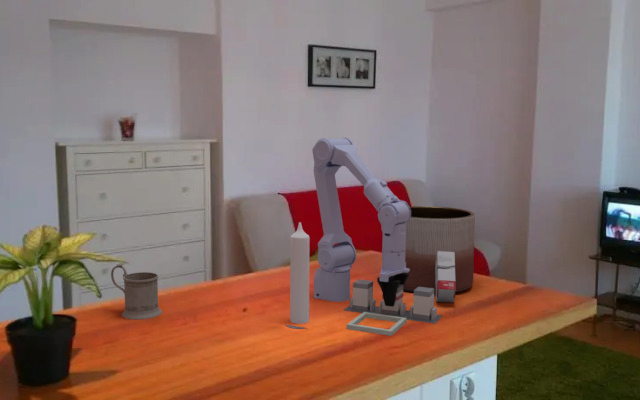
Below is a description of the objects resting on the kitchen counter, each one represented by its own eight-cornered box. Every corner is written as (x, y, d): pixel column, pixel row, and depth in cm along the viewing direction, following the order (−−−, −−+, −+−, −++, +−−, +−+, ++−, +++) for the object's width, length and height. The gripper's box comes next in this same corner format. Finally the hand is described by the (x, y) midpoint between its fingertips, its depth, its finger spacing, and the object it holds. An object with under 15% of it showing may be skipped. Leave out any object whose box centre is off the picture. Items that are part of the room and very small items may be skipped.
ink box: (456, 290, 169) (455, 250, 176) (437, 289, 170) (436, 250, 176) (453, 305, 176) (452, 266, 183) (435, 304, 177) (434, 265, 183)
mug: (169, 310, 169) (168, 265, 168) (144, 321, 160) (143, 273, 159) (125, 303, 175) (124, 259, 174) (99, 313, 166) (97, 267, 165)
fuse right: (412, 318, 161) (413, 290, 160) (417, 313, 165) (418, 286, 164) (428, 320, 159) (429, 292, 159) (433, 316, 163) (434, 288, 162)
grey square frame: (346, 332, 153) (346, 324, 153) (363, 319, 163) (364, 311, 163) (391, 340, 149) (391, 331, 148) (406, 326, 158) (406, 317, 158)
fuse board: (342, 313, 168) (343, 300, 167) (353, 306, 174) (353, 293, 173) (435, 327, 157) (435, 313, 157) (442, 319, 164) (443, 305, 163)
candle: (318, 321, 161) (319, 220, 158) (308, 330, 154) (308, 225, 151) (291, 318, 163) (291, 219, 160) (280, 327, 157) (280, 223, 153)
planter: (412, 270, 214) (414, 203, 211) (486, 283, 199) (489, 211, 196) (370, 287, 194) (371, 212, 191) (449, 302, 179) (452, 222, 176)
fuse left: (352, 309, 168) (352, 282, 167) (358, 305, 172) (358, 279, 171) (367, 311, 166) (367, 284, 165) (372, 307, 170) (373, 281, 169)
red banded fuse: (381, 313, 165) (382, 286, 164) (387, 309, 168) (387, 282, 167) (397, 316, 163) (398, 288, 162) (402, 311, 166) (403, 284, 166)
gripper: (399, 257, 155) (398, 313, 157) (418, 246, 168) (416, 298, 170) (371, 254, 158) (370, 309, 160) (391, 244, 171) (390, 294, 173)
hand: (392, 303), depth 165 cm, fingers closed on red banded fuse, 4 cm apart
